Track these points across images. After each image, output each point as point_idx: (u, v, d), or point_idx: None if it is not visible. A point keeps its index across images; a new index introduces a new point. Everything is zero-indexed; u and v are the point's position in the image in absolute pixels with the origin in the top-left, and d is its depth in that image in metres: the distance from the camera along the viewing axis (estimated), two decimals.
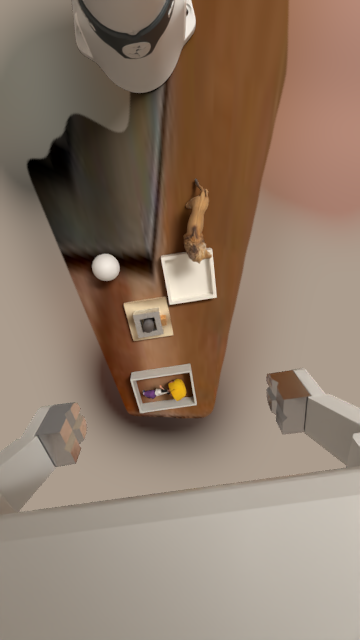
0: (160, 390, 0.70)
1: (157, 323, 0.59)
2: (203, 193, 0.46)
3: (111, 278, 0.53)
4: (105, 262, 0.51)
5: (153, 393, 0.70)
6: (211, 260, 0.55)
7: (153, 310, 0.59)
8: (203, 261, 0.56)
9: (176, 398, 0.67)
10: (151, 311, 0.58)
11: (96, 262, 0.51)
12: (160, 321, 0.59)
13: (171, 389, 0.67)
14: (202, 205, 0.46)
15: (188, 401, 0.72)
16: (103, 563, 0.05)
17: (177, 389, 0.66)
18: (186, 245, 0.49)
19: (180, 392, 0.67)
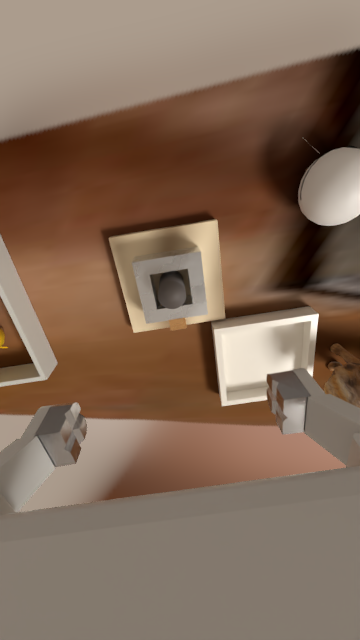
0: None
1: (175, 310, 0.24)
2: None
3: (319, 206, 0.20)
4: None
5: None
6: None
7: None
8: None
9: None
10: None
11: None
12: (181, 318, 0.25)
13: None
14: None
15: None
16: (103, 563, 0.05)
17: None
18: None
19: None
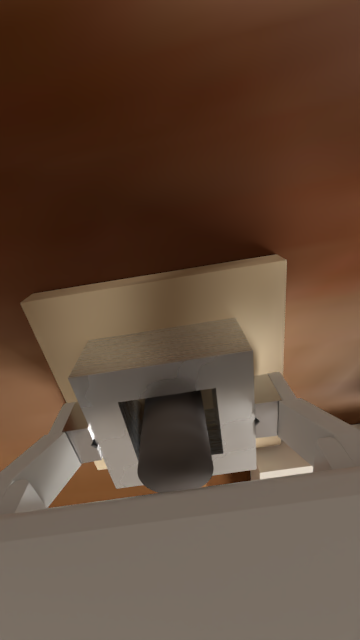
0: None
1: None
2: None
3: None
4: None
5: None
6: None
7: None
8: None
9: None
10: None
11: None
12: None
13: None
14: None
15: None
16: (103, 563, 0.05)
17: None
18: None
19: None
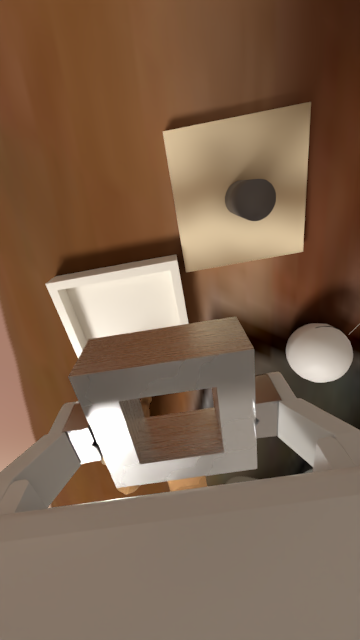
0: None
1: (183, 465, 0.10)
2: None
3: (318, 345, 0.22)
4: (319, 381, 0.23)
5: None
6: None
7: None
8: None
9: None
10: None
11: None
12: (197, 476, 0.11)
13: None
14: (123, 491, 0.27)
15: None
16: (103, 563, 0.05)
17: None
18: None
19: None
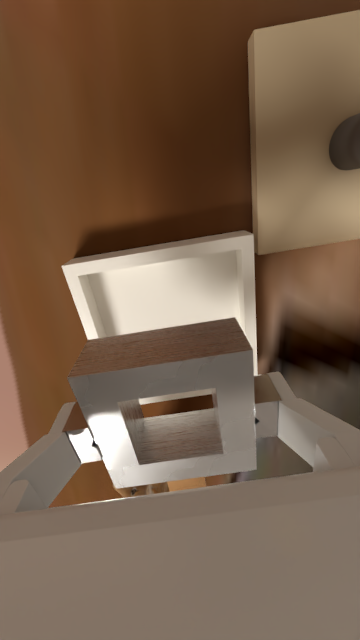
0: None
1: (183, 465, 0.10)
2: None
3: None
4: None
5: None
6: None
7: None
8: None
9: None
10: None
11: None
12: (196, 477, 0.11)
13: None
14: None
15: None
16: (103, 564, 0.05)
17: None
18: None
19: None
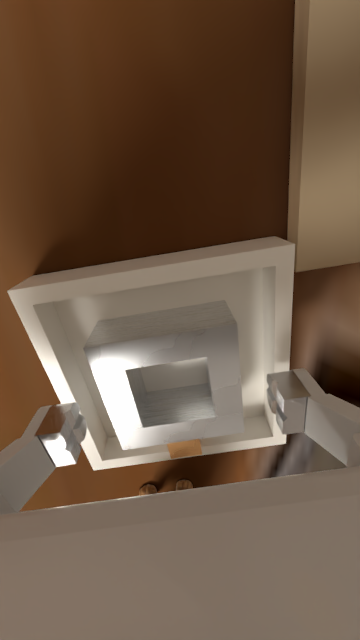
0: None
1: (180, 428, 0.12)
2: None
3: None
4: None
5: None
6: (87, 442, 0.14)
7: None
8: None
9: None
10: None
11: None
12: (192, 439, 0.12)
13: None
14: None
15: None
16: (103, 563, 0.05)
17: None
18: None
19: None
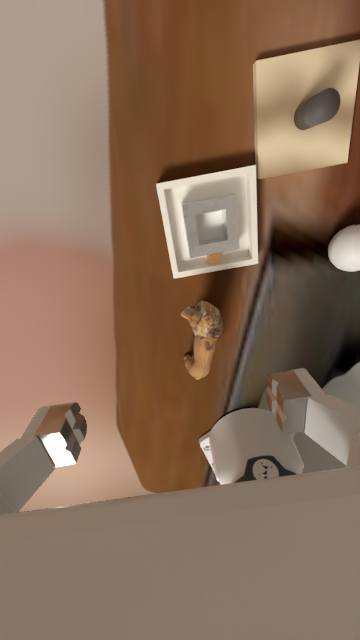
0: None
1: (214, 246, 0.30)
2: (196, 379, 0.36)
3: (357, 235, 0.29)
4: (357, 266, 0.30)
5: None
6: (173, 260, 0.32)
7: None
8: (184, 252, 0.33)
9: None
10: None
11: None
12: (218, 252, 0.31)
13: None
14: (198, 373, 0.35)
15: None
16: (103, 563, 0.05)
17: None
18: (222, 327, 0.31)
19: None
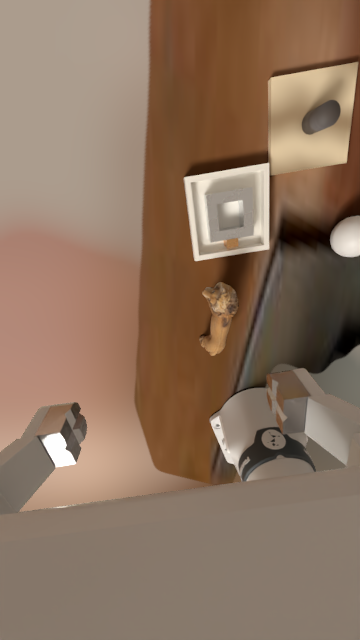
0: None
1: (232, 232, 0.35)
2: (212, 355, 0.41)
3: (355, 223, 0.34)
4: (355, 251, 0.35)
5: None
6: (195, 244, 0.37)
7: None
8: (204, 239, 0.38)
9: None
10: None
11: None
12: (235, 238, 0.36)
13: None
14: (214, 348, 0.39)
15: None
16: (103, 563, 0.05)
17: None
18: (237, 305, 0.36)
19: None
